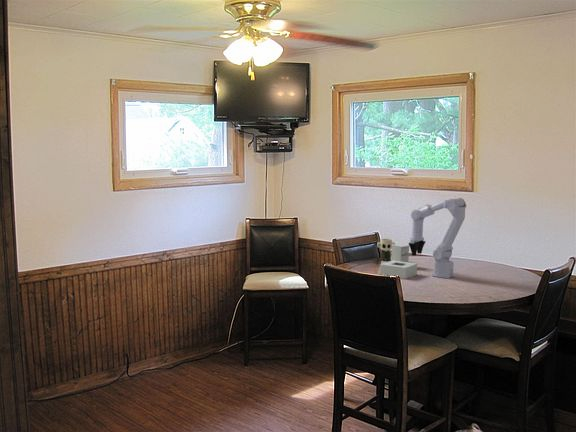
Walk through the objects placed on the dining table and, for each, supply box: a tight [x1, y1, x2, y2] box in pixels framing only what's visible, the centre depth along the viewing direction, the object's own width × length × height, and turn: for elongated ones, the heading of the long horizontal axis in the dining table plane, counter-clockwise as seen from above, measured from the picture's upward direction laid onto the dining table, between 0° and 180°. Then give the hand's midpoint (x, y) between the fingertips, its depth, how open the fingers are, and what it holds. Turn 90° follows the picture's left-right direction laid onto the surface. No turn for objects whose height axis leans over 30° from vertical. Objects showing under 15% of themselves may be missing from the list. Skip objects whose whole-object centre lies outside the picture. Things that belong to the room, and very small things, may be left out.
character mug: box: [376, 238, 396, 261], centre depth 384 cm, size 11×7×13 cm, turn 87°
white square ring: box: [379, 260, 418, 280], centre depth 343 cm, size 15×15×6 cm
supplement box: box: [390, 243, 410, 262], centre depth 366 cm, size 7×7×13 cm
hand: (416, 254), depth 352 cm, fingers open, 7 cm apart
